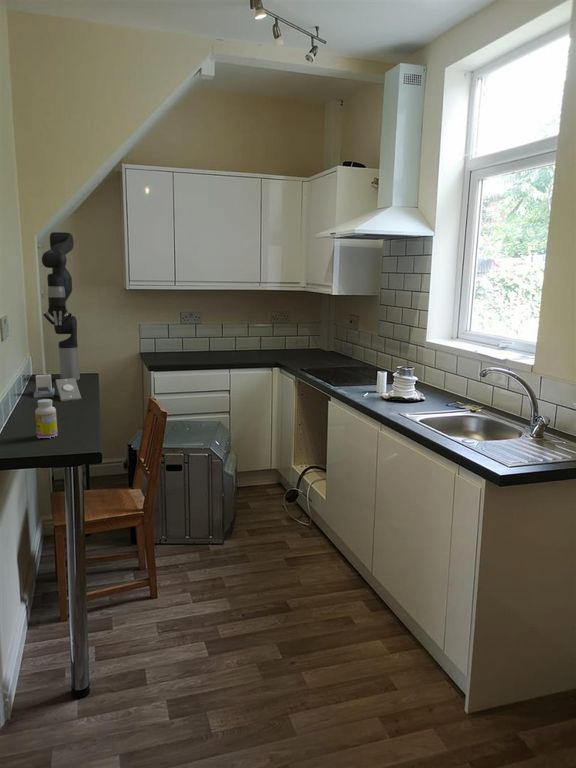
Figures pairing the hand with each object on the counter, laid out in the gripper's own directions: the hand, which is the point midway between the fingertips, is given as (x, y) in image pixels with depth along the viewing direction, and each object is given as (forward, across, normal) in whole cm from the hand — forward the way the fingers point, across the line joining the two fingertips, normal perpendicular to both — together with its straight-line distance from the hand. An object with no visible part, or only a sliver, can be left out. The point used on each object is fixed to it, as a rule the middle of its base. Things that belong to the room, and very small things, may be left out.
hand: (59, 333), depth 281 cm
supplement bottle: (+27, +2, +86) cm, 91 cm away
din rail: (+25, +7, +10) cm, 28 cm away
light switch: (+27, -3, +21) cm, 35 cm away
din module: (+25, +7, +10) cm, 28 cm away
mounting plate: (+27, +7, +10) cm, 30 cm away
